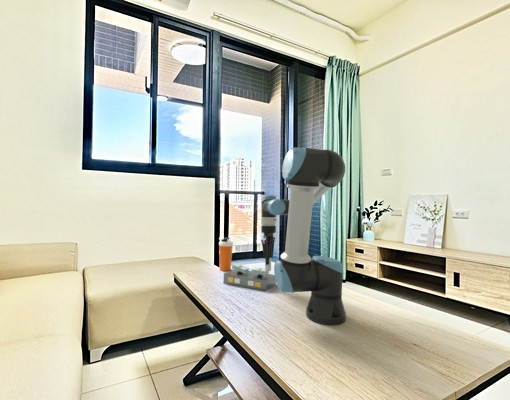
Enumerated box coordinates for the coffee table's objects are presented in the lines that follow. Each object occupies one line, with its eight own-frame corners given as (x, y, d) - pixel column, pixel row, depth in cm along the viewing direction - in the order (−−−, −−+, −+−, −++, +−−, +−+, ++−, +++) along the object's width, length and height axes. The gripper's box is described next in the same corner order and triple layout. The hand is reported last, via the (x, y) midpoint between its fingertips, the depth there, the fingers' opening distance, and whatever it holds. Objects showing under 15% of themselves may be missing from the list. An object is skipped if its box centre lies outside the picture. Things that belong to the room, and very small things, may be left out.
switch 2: (265, 275, 142) (265, 271, 142) (251, 273, 146) (251, 269, 146) (268, 273, 146) (269, 269, 146) (255, 271, 150) (255, 267, 150)
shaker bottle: (233, 268, 181) (234, 237, 181) (230, 271, 172) (231, 239, 172) (219, 267, 182) (220, 237, 182) (216, 270, 173) (217, 238, 173)
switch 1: (244, 273, 148) (245, 269, 147) (231, 268, 151) (232, 264, 151) (248, 271, 152) (249, 267, 152) (236, 266, 155) (236, 262, 155)
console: (265, 291, 137) (266, 278, 137) (223, 283, 148) (223, 271, 148) (275, 284, 149) (276, 272, 149) (235, 277, 160) (236, 266, 160)
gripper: (270, 226, 137) (269, 274, 137) (279, 224, 148) (279, 268, 148) (256, 225, 140) (256, 272, 140) (267, 223, 152) (266, 266, 152)
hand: (268, 270), depth 144 cm, fingers closed
